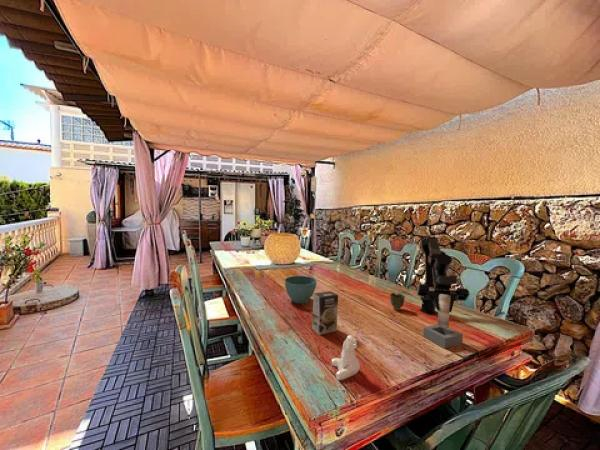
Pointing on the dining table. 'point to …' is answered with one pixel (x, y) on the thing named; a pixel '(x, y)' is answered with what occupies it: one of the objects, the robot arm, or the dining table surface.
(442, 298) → the peg
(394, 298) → the cup
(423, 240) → the robot arm
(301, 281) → the plant pot
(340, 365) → the sitting furry creature
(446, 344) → the socket block
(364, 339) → the dining table surface
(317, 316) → the coffee box
